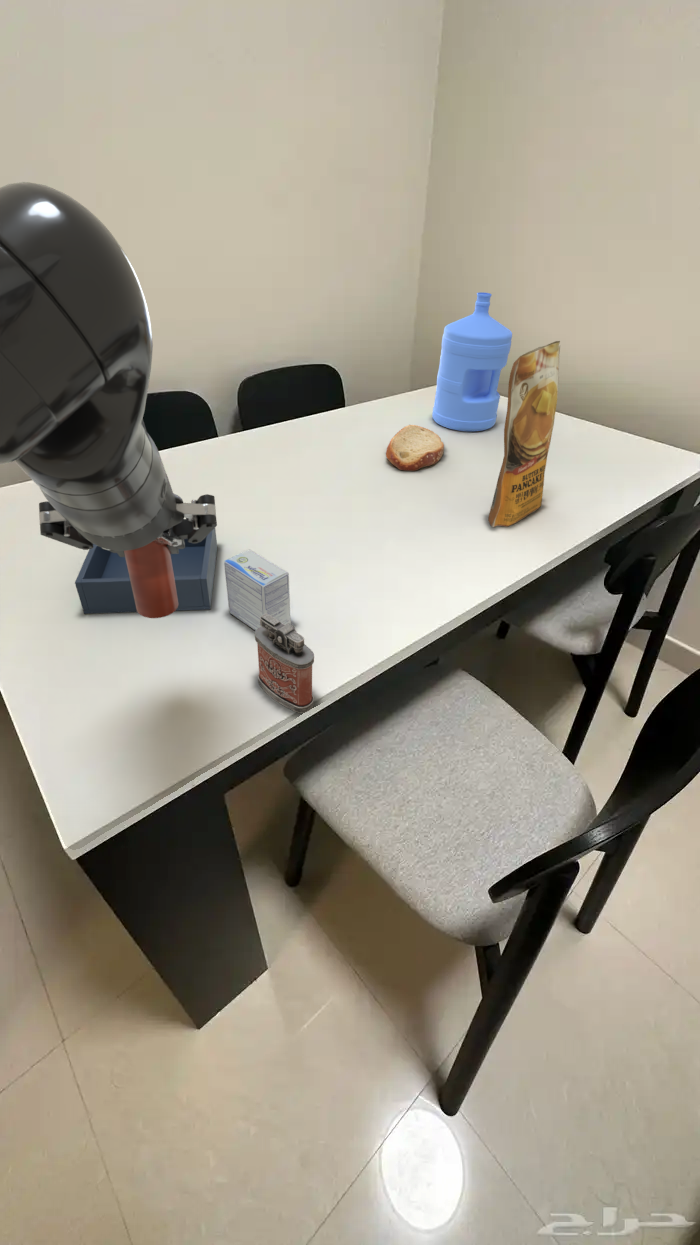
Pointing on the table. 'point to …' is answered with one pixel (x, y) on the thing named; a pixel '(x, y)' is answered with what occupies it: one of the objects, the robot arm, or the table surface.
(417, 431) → the slice of bread
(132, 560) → the terracotta red cylinder
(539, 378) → the pancake mix bag
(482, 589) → the table surface
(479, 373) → the water jug
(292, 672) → the lighter
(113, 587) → the bin
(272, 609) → the medicine box
